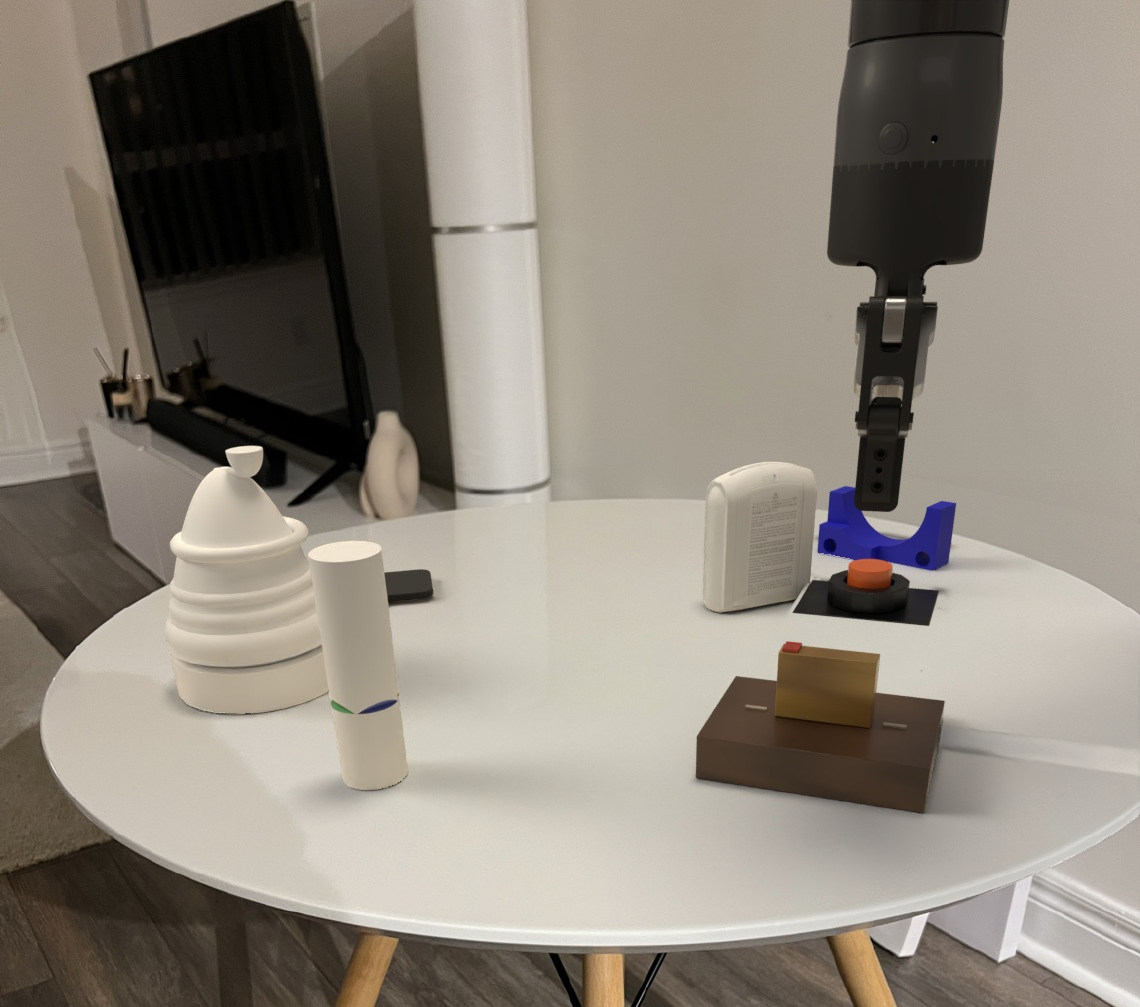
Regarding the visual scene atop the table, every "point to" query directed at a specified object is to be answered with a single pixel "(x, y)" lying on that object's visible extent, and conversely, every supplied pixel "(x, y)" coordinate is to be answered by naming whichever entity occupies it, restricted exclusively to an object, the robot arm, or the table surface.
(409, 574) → the phone
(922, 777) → the plate
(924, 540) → the blue u-shaped cradle
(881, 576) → the button
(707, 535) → the photo printer
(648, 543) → the table surface
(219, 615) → the honey pot
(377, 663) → the tube
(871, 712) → the lock knob
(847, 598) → the button block
